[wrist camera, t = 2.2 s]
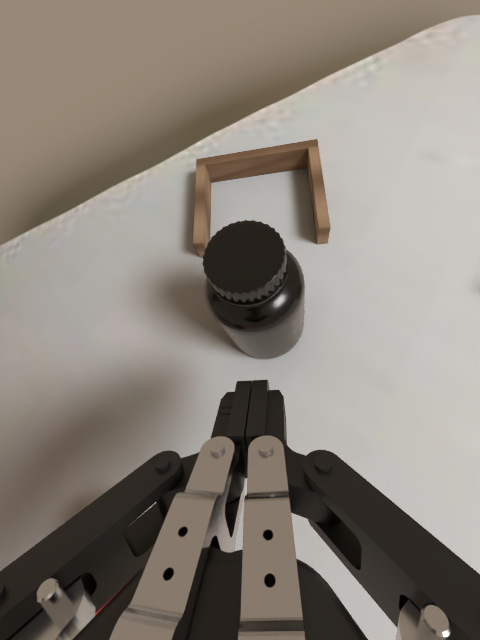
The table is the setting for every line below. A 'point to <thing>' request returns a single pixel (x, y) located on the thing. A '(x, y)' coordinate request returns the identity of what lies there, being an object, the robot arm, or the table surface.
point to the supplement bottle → (254, 288)
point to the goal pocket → (255, 165)
